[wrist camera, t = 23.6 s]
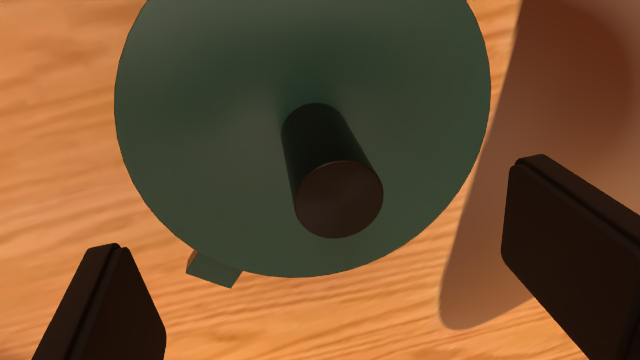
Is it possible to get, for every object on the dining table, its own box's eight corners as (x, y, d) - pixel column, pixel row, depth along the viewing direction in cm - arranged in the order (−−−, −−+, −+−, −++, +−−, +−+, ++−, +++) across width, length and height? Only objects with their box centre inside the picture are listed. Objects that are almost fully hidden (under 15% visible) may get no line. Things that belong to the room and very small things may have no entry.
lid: (67, 188, 17) (-16, 299, 11) (231, -195, 12) (220, -312, 7) (353, 296, 22) (387, 406, 17) (544, 61, 17) (677, 109, 12)
